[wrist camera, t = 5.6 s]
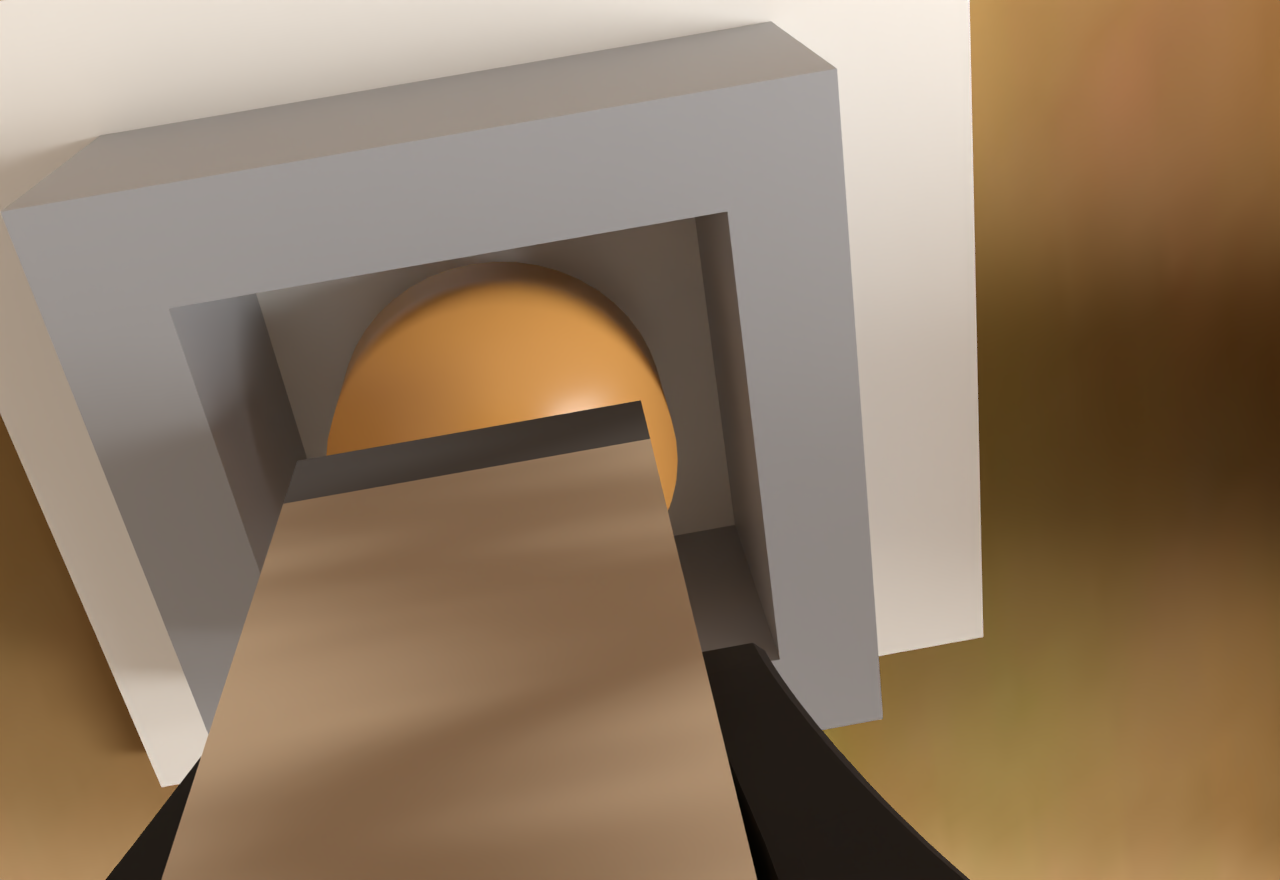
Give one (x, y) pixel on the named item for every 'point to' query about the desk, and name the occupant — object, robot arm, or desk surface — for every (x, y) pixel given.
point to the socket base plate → (497, 232)
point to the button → (496, 361)
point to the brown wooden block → (470, 675)
